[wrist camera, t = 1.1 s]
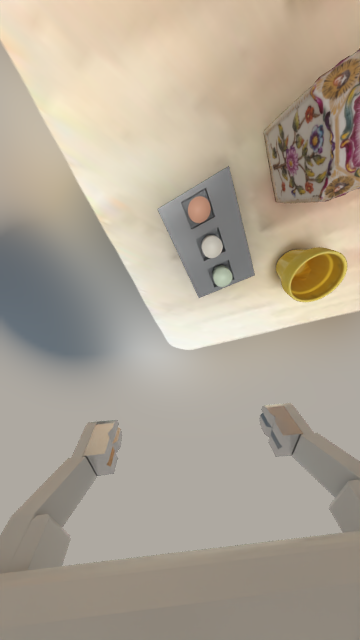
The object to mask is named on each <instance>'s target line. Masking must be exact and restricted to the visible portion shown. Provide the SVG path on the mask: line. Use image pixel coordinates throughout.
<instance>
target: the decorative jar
mask: <svg viewBox="0 0 360 640" xmlns="http://www.w3.org/2000/svg"><path fill="white" fill-rule="evenodd" d="M264 136H265V142H266V147H267V153H268V159H269V165H270V170H271V176H272V183H273V188H274V192H275V198H276V202H280V203H301V202H302V203H305V202H319V201H320V202H323V201H328V200H330V199H332V198H336V197H339V196H342V195H345V194H346V193H348V192H349V191H352V190H355V189H359V188H360V49H359V50H358V51H357V52H355V53H354V54H353V55H352V56H348V57H347V58H345V59H344V60H342V61H341V62H339V63H338V64H337V65H336V66H335V67H334V68H332V69H331V70H330V71H328V72H327V73H325V74H323V75H322V76H320V77H319V78H318V80H317V81H316V82H315V83H314V85H313V86H311V87H310V88H309V89H308V90H307V91H306V92H305V93H304V94H302V95H301V96H300V97H299V98H298V99H297V100H296V101H294V103H292V104H291V105H290V106H289V107H288V108H287V109H286V110H285V111H284V112H283V113H282V114H281V115H279V116H278V117H277V118H276V119H275V120H274V121H273V122H272V123H271V124H270V125H269V126H268V127H267V128H266V129H265V131H264Z"/></svg>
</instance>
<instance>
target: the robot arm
mask: <svg viewBox="0 0 360 640" xmlns="http://www.w3.org/2000/svg"><path fill="white" fill-rule="evenodd" d="M262 412H263V413H262V414H261V415H260V425H261V427H262V430H263V432H264V434H265V435H267V436H268V437H269V444H270V446H271V448H272V450H273V452H274V454H275V456H276V457H277V456H292V457H293V458H294V459H295V460H296V461H297V462H299V464H300V465H301V466H303V467H304V468H305V469H306V470H307V471H308V472H309V473H310V474H311V475H312V476H313V477H314V478H315V479H316V480H317V481H318V482H319V483H320V484H321V485H323V487H325V488H326V489H327V490H328V491H329V492H330V493H331V494H332V495H333V496H334V497H335V499H334V500H333V502H332V503H331V504H330V507H329V510H330V511H331V513H332V515H333V516H334V518H335V520H336V522H337V523H338V525H339V526H340V528H341V530H342V532H343V533H336V534H328V535H320V536H312V537H303V538H294V539H286V540H278V541H269V542H261V543H253V544H244V545H235V546H228V547H219V548H210V549H202V550H194V551H186V552H177V553H168V554H160V555H152V556H143V557H136V558H126V559H118V560H110V561H101V562H93V563H84V564H76V565H68V566H62V564H63V561H64V558H65V555H66V552H67V548H68V546H69V542H70V535H69V534H68V533H67V532H66V531H65V530H64V529H63V528H62V527H63V526H64V524H65V523H66V521H67V520H68V518H69V517H70V516H71V514H72V513H73V511H74V510H75V508H76V507H77V505H78V504H79V503H80V501H81V500H82V498H83V497H84V495H85V494H86V492H87V491H88V489H89V488H90V487H91V485H92V484H93V482H94V481H95V479H96V477H97V476H100V475H107V474H114V471H115V467H116V463H117V459H118V458H117V455H116V453H117V451H118V450H119V449H120V446H121V439H122V432H121V429H120V428H118V425H119V424H118V421H117V420H112V421H99V422H89V423H88V424H87V425H86V426H85V428H84V431H83V433H82V435H81V437H80V440H79V441H78V444H77V446H76V448H75V450H74V453H73V455H72V457H71V458H68V459H67V460H66V461H65V462H64V463H63V464H62V465H61V466H60V467H59V468H58V469H57V470H56V471H55V472H54V473H53V474H52V475H51V476H50V477H49V478H48V479H47V480H46V481H45V482H44V483H43V484H42V486H40V487H39V489H38V490H37V491H36V492H35V493H34V494H33V495H32V496H31V497H30V498H29V499H28V500H27V501H26V502H25V503H24V504H23V505H22V506H21V507H20V508H19V509H18V510H17V511H16V512H15V513H14V514H13V515H12V516H11V518H10V520H9V521H8V523H7V525H6V526H5V528H4V530H3V532H2V533H1V535H0V640H360V461H358V460H357V459H355V458H354V457H352V456H351V455H349V454H348V453H346V452H345V451H343V450H342V449H341V448H339V447H338V446H336V445H335V444H333V443H332V442H330V441H329V440H327V439H325V438H324V437H323V436H321V435H320V434H318V433H314V432H313V431H312V429H311V428H310V427H309V425H308V424H307V423H306V421H305V420H304V419H303V418H302V416H301V415H300V414H299V412H298V411H297V410H296V408H295V407H294V406H293V405H292V404H291V403H285V404H273V405H265V406H263V407H262Z"/></svg>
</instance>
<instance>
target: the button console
mask: <svg viewBox="0 0 360 640" xmlns="http://www.w3.org/2000/svg"><path fill="white" fill-rule="evenodd" d="M198 196H202V197H205V198H206V199H207V200H208V201H209V203H210V207H211V210H210V215H209V217H208V218H207V219H206V220H205V221H204V222H202V223H195V222H193V221H192V220H191V219H190V217H189V214H188V206H189V203H190V202H191V200H192V199H194V198H195V197H198ZM158 212H159V214H160V216H161V218H162V220H163V222H164V224H165V226H166V229H167V231H168V233H169V235H170V237H171V239H172V241H173V244H174V246H175V248H176V250H177V252H178V254H179V256H180V259H181V261H182V263H183V265H184V267H185V269H186V271H187V274H188V276H189V278H190V280H191V282H192V284H193V286H194V289H195V291H196V293H197V295H198V297H199V298H200V297H203V296H205V295H208V294H210V293H213V292H215V291H217V290H220V289H222V288H225V287H227V286H230V285H232V284H234V283H237V282H239V281H242V280H244V279H247V278H249V277H251V276H254V275H255V274H254V269H253V265H252V261H251V257H250V253H249V248H248V244H247V240H246V236H245V232H244V227H243V223H242V219H241V215H240V211H239V206H238V202H237V198H236V194H235V190H234V185H233V181H232V177H231V173H230V169H229V166H228V167H226V168H225V169H223V170H221V171H220V172H218V173H216V174H215V175H213V176H211V177H210V178H208V179H206V180H205V181H203V182H201V183H200V184H198V185H196V186H195V187H193V188H192V189H190V190H188V191H187V192H185V193H183V194H182V195H180V196H178V197H177V198H175V199H173V200H172V201H170V202H168V203H167V204H165V205H163V206H162V207H160V208H158ZM207 235H216V236H217V237H218V238H219V239H220V240H221V242H222V244H223V248H222V252H221V253H220V254H219V255H218V256H217V257H215V258H208V257H206V256H205V255H204V253H203V251H202V248H201V243H202V240H203V239H204V238H205V237H206V236H207ZM220 265H224V266H226V267H228V269H229V270H230V272H231V273H232V281H231V283H230V284H229V285H227V286H225V287H220V286H217V285H216V284H215V282H214V279H213V277H212V273H213V270H214V269H215V268H216V267H217V266H220Z"/></svg>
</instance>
